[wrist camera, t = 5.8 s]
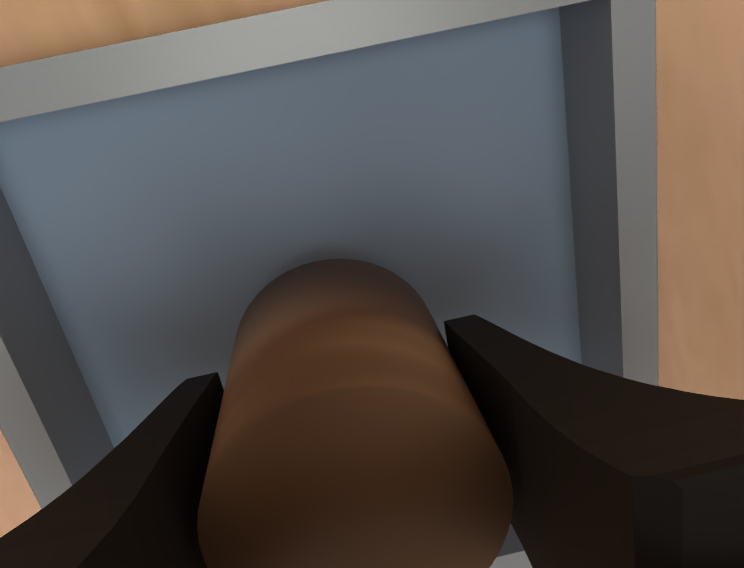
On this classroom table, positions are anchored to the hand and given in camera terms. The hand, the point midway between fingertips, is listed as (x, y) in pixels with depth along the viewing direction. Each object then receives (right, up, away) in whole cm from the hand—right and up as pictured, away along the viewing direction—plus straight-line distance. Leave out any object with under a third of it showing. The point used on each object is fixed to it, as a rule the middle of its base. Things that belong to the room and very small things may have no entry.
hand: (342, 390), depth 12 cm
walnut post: (0, +1, +1) cm, 1 cm away
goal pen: (0, +1, +3) cm, 3 cm away
